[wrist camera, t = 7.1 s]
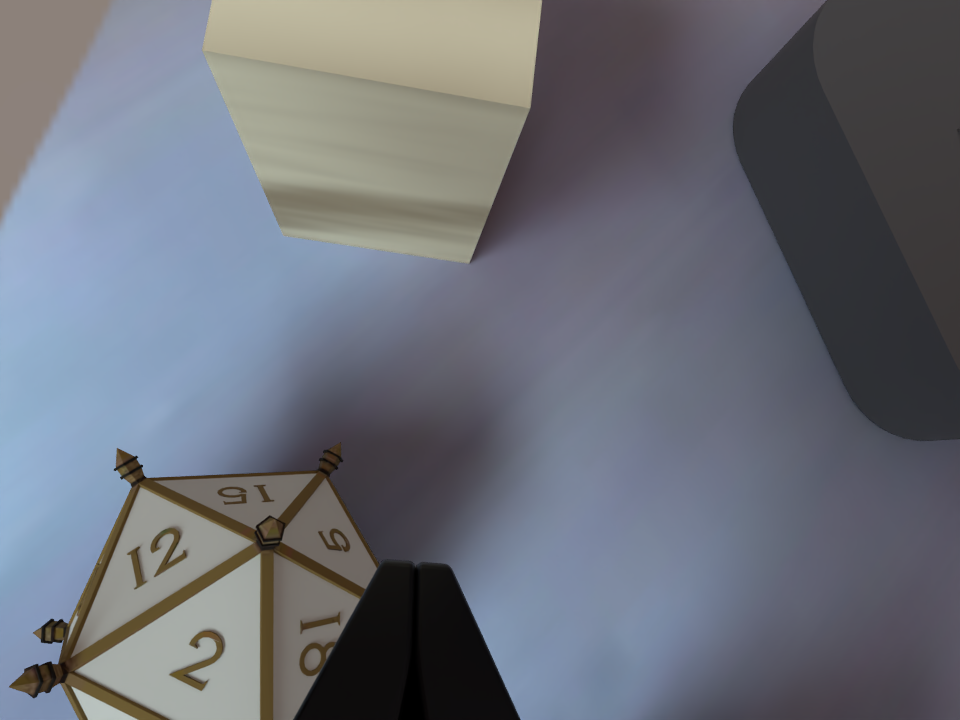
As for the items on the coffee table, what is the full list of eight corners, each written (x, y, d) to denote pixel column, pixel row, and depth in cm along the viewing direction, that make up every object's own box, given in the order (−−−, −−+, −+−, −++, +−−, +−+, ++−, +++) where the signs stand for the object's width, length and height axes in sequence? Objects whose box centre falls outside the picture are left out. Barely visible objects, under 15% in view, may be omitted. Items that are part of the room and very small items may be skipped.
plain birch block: (469, 263, 23) (530, 107, 13) (283, 235, 22) (202, 50, 12) (489, 96, 24) (560, -164, 14) (312, 65, 23) (258, -230, 14)
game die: (331, 609, 24) (442, 905, 16) (42, 650, 20) (-9, 1075, 12) (372, 372, 21) (535, 585, 13) (43, 364, 17) (-21, 667, 9)
